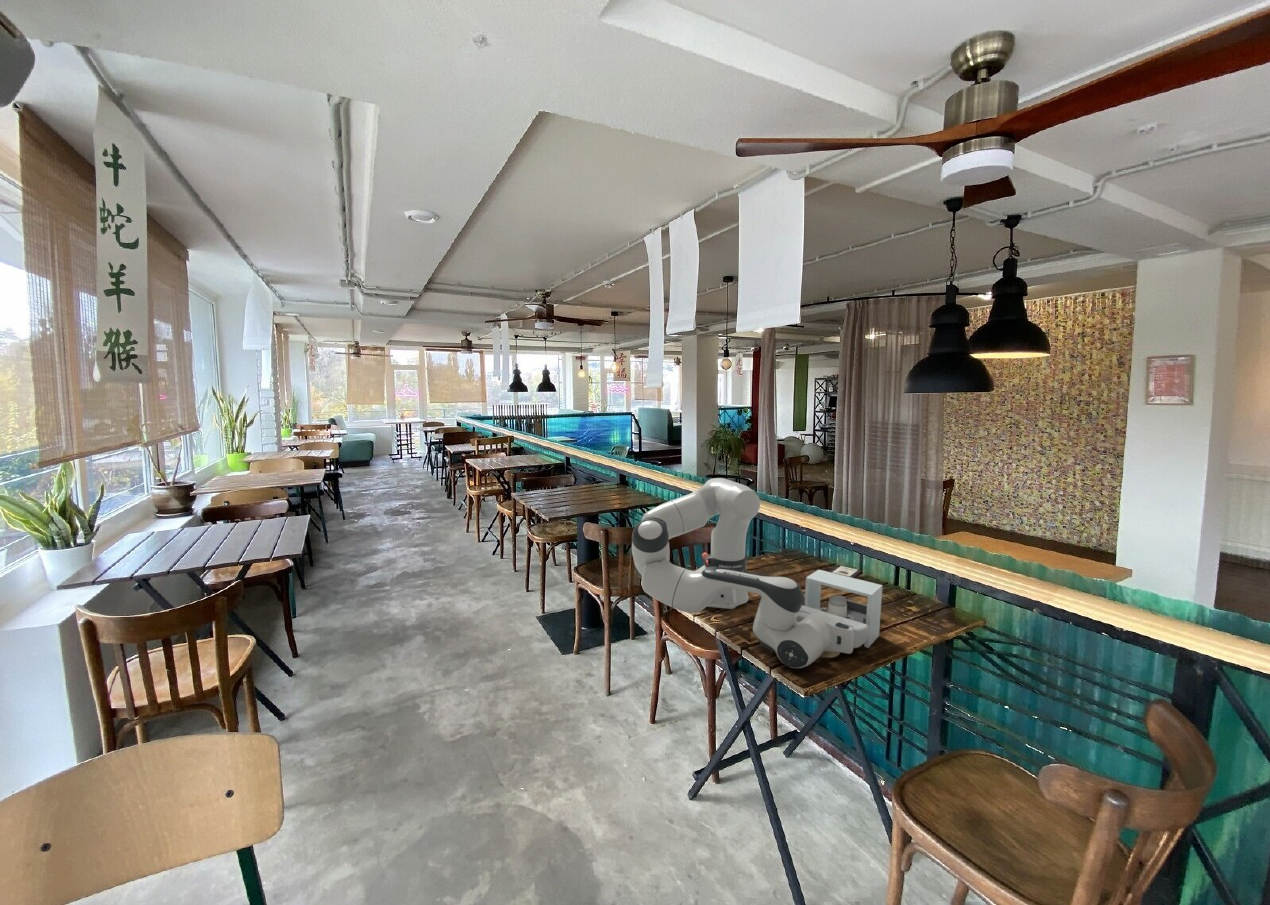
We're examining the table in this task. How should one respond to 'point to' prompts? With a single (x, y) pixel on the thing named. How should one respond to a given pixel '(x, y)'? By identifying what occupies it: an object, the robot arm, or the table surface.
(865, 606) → the tray
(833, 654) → the coaster
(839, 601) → the shaker
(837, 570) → the chocolate bar
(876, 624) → the tunnel
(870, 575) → the table surface
